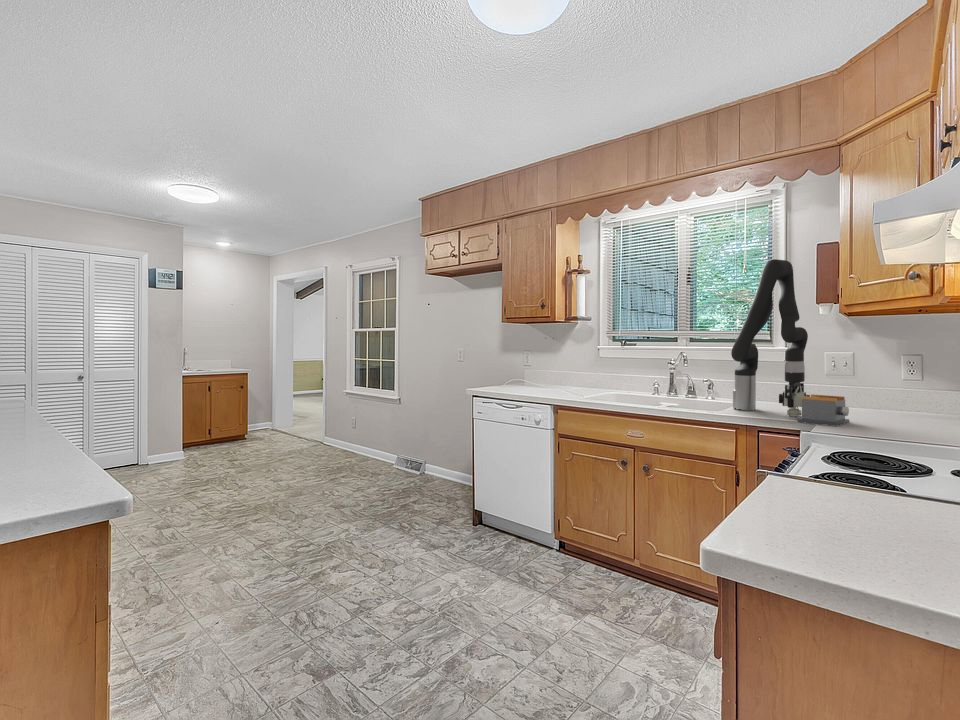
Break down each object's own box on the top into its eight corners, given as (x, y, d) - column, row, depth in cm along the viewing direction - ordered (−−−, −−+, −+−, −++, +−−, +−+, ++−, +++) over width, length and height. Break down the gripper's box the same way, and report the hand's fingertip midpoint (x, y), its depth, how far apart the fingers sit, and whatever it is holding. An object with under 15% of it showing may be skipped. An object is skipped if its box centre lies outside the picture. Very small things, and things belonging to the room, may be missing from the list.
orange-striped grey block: (797, 421, 203) (797, 396, 202) (810, 418, 211) (811, 393, 211) (840, 426, 190) (841, 399, 190) (853, 422, 198) (853, 396, 198)
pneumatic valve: (809, 417, 212) (810, 390, 211) (778, 416, 218) (778, 389, 218) (809, 416, 216) (810, 389, 216) (779, 414, 223) (779, 388, 222)
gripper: (792, 370, 224) (792, 404, 224) (778, 371, 215) (778, 407, 216) (810, 370, 217) (810, 406, 218) (797, 372, 209) (797, 409, 210)
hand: (794, 406), depth 217 cm, fingers open, 8 cm apart
